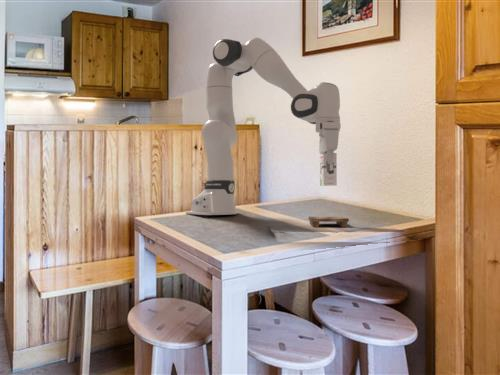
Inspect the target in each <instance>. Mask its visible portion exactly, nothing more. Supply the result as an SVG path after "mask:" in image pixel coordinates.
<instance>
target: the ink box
mask: <svg viewBox="0 0 500 375" xmlns="http://www.w3.org/2000/svg"><path fill="white" fill-rule="evenodd" d="M337 155H338V154H337V152H334V155H333V163H332V164H327V153H324V154H320V156H319V158H320V160H319V162H320V164H319V166H320V168H319V173H320V174H319V185H320V186H322V187H323V186H327V187H328V186H333V187H334V186H337V184H338V183H337V182H338V180H337V179H338V178H337V175H338V174H337V172H338V171H337V167H338V166H337Z"/></svg>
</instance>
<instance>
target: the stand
mask: <svg viewBox="0 0 500 375" xmlns="http://www.w3.org/2000/svg"><path fill="white" fill-rule="evenodd" d="M308 220H309V225H310V224H311V225H310V226H311V227H313V228H320V223H321V222H325V223H326V222H327V223H328V222H329V223H330V222H333V223H335V225H337V226H338V227H341V228H348V223H349V222H350V221H349V220H350V219H349V218H348V217H344V216H308Z"/></svg>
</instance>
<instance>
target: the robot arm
mask: <svg viewBox="0 0 500 375" xmlns="http://www.w3.org/2000/svg"><path fill="white" fill-rule="evenodd" d="M212 57H213V59H214V61H215V62H214V63H212V64H211V63H210V65H209V66H208V67H207V70H206V71H207V72H206V81H205V92H206V93H205V94H206V95H205V96H206V110H207V112H208V117H209V120H208V121H206V122H205V123H204V124H203V126H202V127H201V136H202V139H203V144H204V151H205V155H206V156H205V157H206V164H207V166H206V167H207V170H206V172H207V177H206V179H207V180H206V181H205V182H202V183H201V184H202V186H203V190H202V191H200V193H199V194H198V195H197V196H195V197H194V198H193V199H192V201H191V208H190V210H188V211H185V215H186V214H187V215H198V216H220V215H221V216H222V215H223V216H224V215H225V216H226V215H228V216H229V215H237V214H238V212H237V206H236V200H235V185H236V184H235V180H234V173H235V172H234V169H235V166H234V163H235V162H234V159H233V155H232V149H231V148H232V147H234V146H235V145H236V144H237V142H238V132H237V126H236V120H235V119H236V118H235V113H234V107H233V106H234V104H233V78H234V76H235V77H240V76H241V75H243V74H247V73H249V72H251V71H252V70H254V71H255V73H256V74H257V75H258V76H260V78H261V79H263V80H265V82H267V83H269V84H271V85H273V86H276V87H277V88H280V89H281V90H283V91H285V92H286V93H287V94H288V95H289V96H290V97H291V98H292V99H291V100H292V101H291V104H290V110H291V111H290V112H291V114H292V115H293V116H294V117H295V118H297V119H300V120H302V121H306V122H307V123H309V124H311V125H315V133H318V137H319V142H318V144H319V146H318V152H319V154H320V155H321V154H324V153H327V164H332V163H333V155H334V153H335V151H336V150H338V146H339V138H340V137H339V136H340V132H341V117H340V116H341V115H340V108H341V99H340V98H341V97H340V90H339V89H340V88H339V87H338V86H337V85H336V84H333V83H331V82H319V83H317V84H316V86H314V87H312V88H311V89H309V90H307V89H306V87H305V86H304V85H303V84H302V83H301V82H300V81H299V80H298V79H297V78H296V77H295V75H294V73H293V72H292V71H291V70H290V68H289V67H288V66H287V64H286V63H285V61H284V60H283V58H282V57H281V55H280V54H278V52H277V51H276V50H275V48H273V47H272V46H271V45H270V44H269V43H268V42H266V41H265V40H263V39H262V38H260V37H253V38H250V39H248V41H246V43H244V44H243V43H241V42H240V41H238V40H235V39H234V40H233V39H231V38H230V39H228V38H223V39H220V40H218V41H217V42H216V43H215V44H214V46H213V48H212Z"/></svg>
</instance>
